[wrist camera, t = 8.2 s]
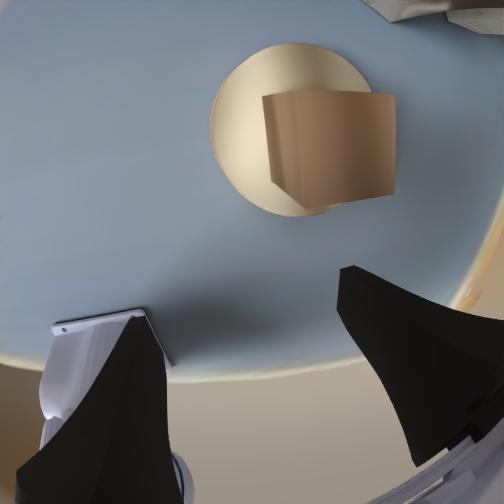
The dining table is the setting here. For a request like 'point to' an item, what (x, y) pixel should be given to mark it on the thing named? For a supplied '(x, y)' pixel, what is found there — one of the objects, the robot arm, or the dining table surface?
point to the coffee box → (426, 7)
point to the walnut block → (331, 145)
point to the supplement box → (479, 19)
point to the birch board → (253, 123)
